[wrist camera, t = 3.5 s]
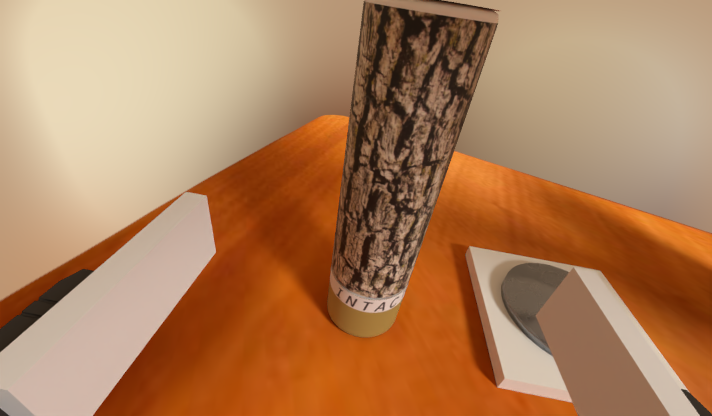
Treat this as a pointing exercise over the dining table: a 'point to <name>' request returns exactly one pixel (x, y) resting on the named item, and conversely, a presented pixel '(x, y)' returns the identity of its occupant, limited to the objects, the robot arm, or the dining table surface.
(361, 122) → the paper tube
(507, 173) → the dining table surface
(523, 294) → the domed button base
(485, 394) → the dining table surface
